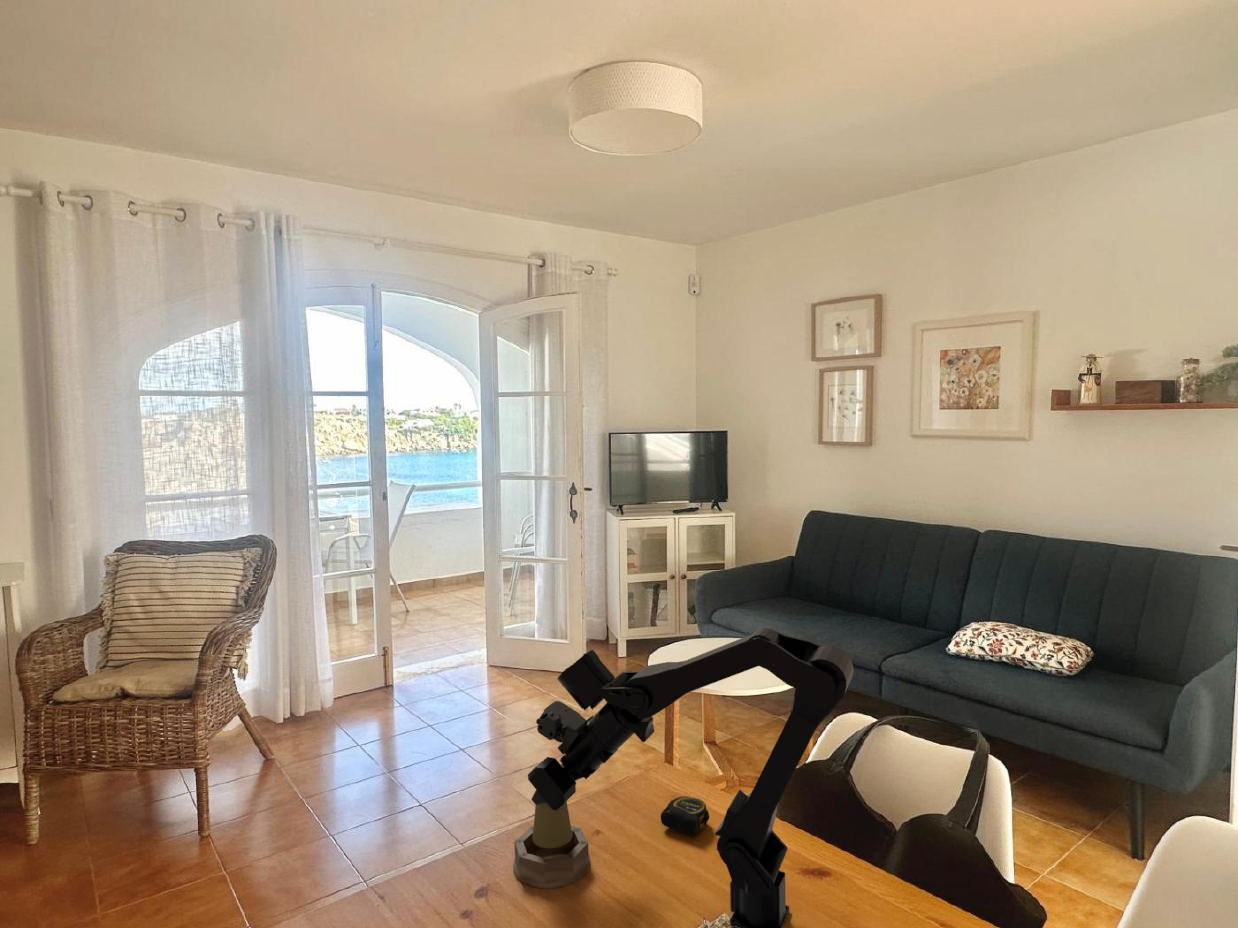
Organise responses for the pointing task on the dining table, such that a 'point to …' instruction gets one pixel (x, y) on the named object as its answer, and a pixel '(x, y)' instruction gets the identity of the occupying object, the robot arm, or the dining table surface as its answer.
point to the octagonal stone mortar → (551, 861)
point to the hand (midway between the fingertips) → (542, 793)
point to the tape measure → (685, 815)
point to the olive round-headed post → (551, 826)
